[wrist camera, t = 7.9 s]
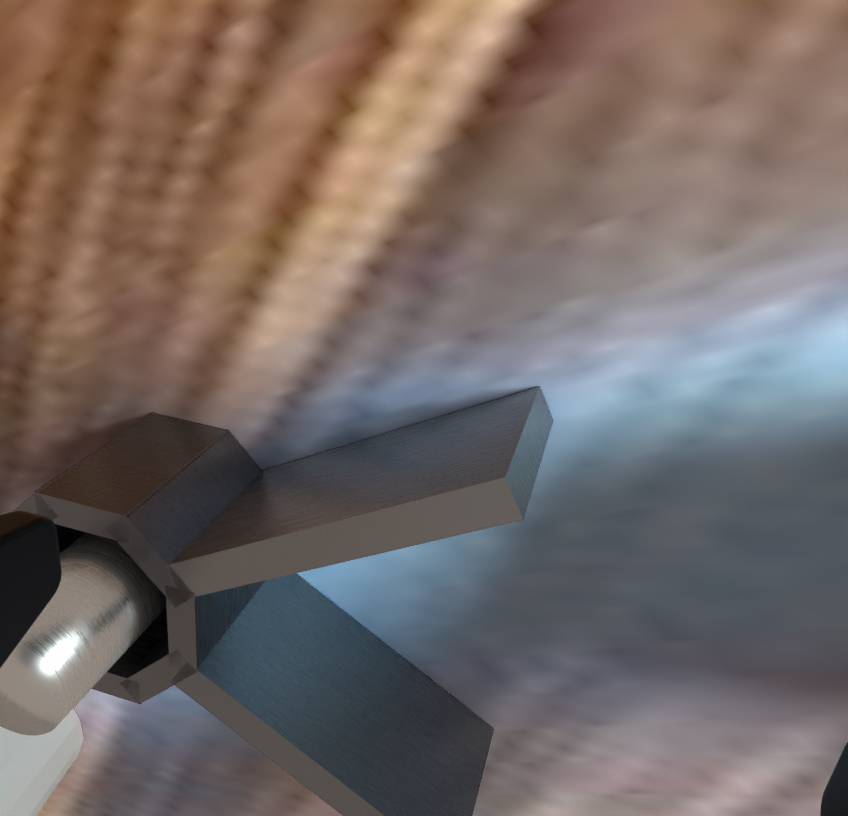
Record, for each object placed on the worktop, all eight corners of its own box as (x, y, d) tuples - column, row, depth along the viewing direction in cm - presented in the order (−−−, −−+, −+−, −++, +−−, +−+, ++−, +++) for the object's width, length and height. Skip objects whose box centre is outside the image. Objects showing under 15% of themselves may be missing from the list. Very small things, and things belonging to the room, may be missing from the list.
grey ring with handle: (558, 390, 20) (530, 482, 15) (490, 748, 25) (453, 893, 21) (91, 296, 22) (-48, 352, 18) (120, 637, 28) (19, 744, 23)
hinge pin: (236, 476, 24) (56, 650, 17) (236, 557, 25) (68, 750, 18) (149, 455, 24) (-61, 614, 17) (153, 535, 25) (-40, 713, 18)
